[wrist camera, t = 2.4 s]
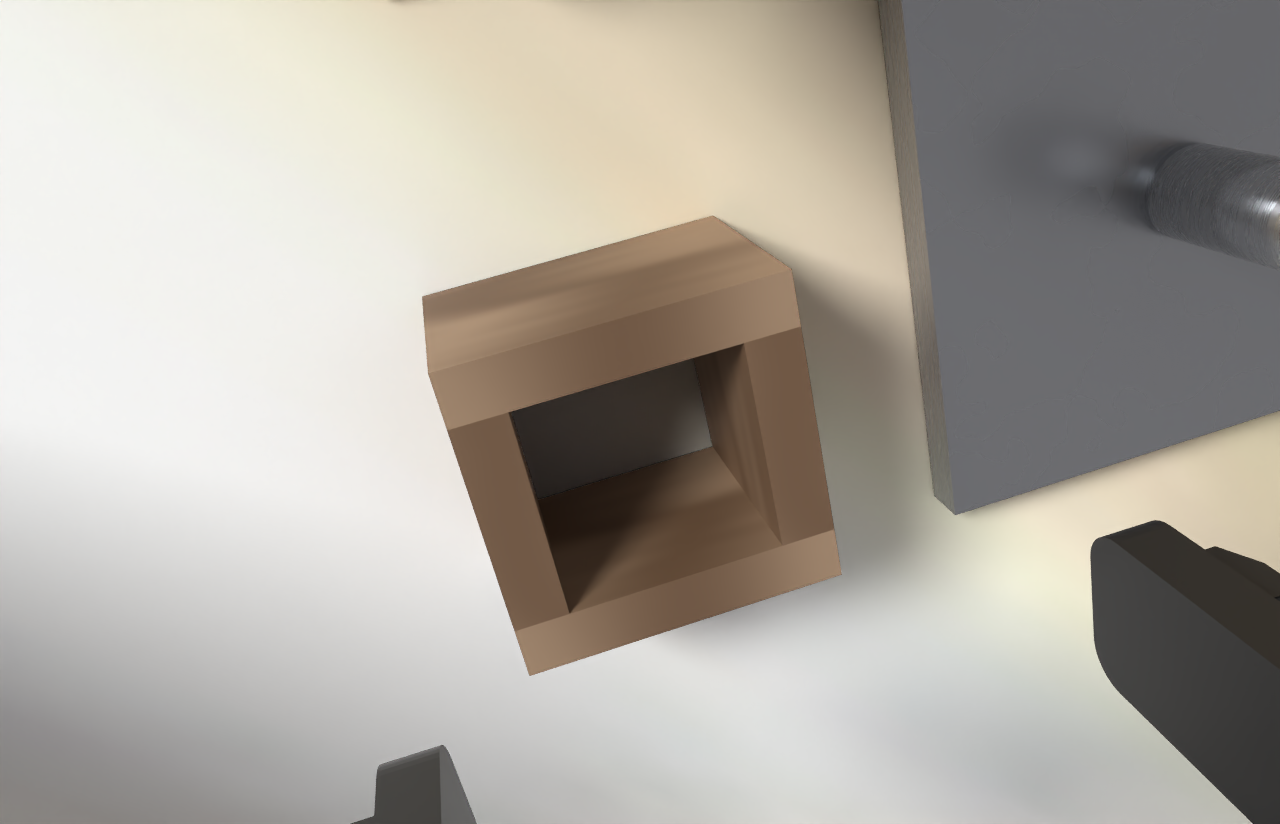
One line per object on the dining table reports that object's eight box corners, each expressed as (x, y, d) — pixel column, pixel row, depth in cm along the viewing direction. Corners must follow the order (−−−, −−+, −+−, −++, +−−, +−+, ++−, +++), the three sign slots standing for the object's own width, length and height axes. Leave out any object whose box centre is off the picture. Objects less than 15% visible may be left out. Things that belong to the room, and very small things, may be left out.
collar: (505, 552, 22) (529, 675, 18) (422, 296, 20) (428, 373, 16) (762, 472, 23) (841, 574, 19) (713, 215, 20) (792, 269, 16)
